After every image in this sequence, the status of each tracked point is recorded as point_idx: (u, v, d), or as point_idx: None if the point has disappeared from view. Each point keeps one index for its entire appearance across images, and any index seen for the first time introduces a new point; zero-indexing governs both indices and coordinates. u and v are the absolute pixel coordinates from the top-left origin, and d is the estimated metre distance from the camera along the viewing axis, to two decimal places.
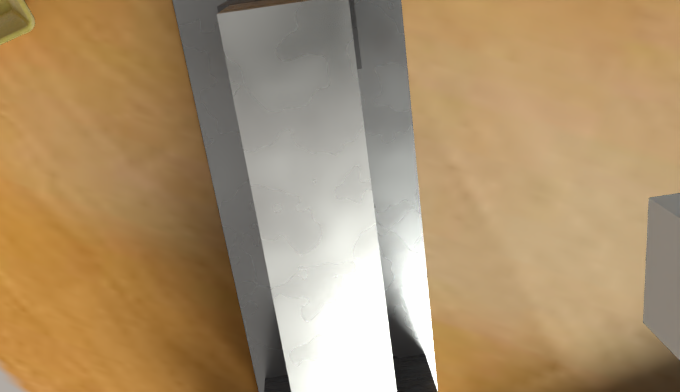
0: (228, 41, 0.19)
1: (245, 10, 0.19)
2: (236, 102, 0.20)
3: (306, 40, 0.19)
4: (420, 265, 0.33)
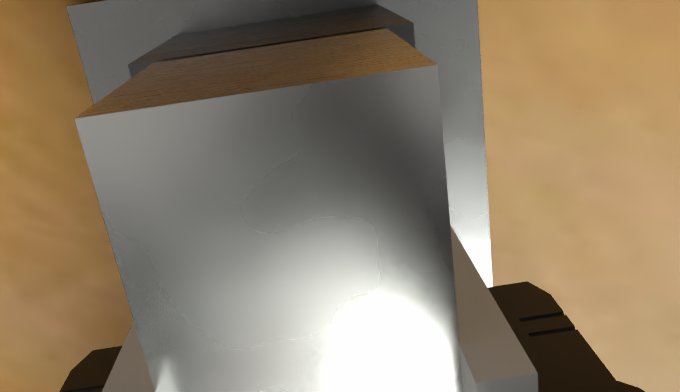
0: (112, 188, 0.07)
1: (155, 108, 0.07)
2: (143, 331, 0.08)
3: (321, 182, 0.07)
4: None
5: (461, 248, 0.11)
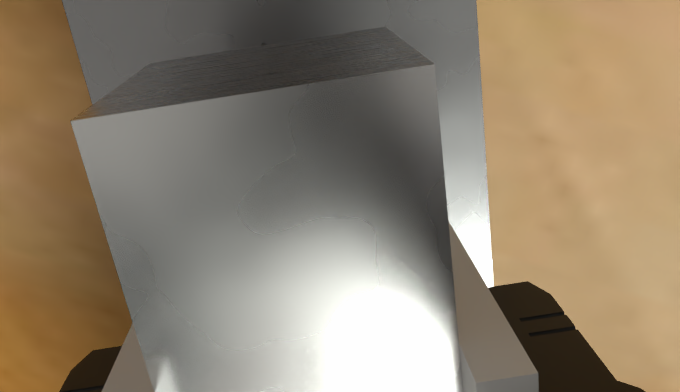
0: (109, 191, 0.07)
1: (151, 109, 0.07)
2: (142, 332, 0.08)
3: (320, 183, 0.07)
4: None
5: (461, 248, 0.11)
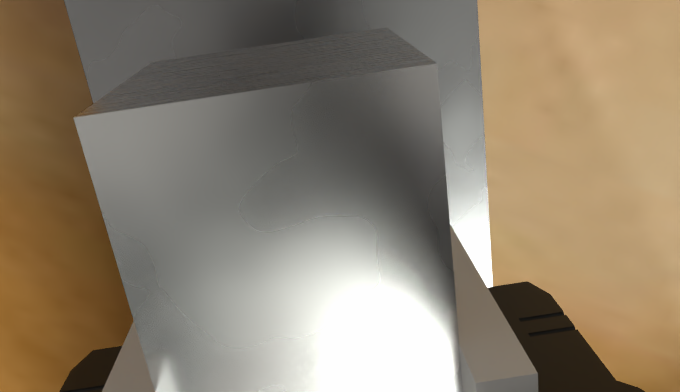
0: (111, 187, 0.07)
1: (154, 106, 0.07)
2: (142, 330, 0.08)
3: (320, 182, 0.07)
4: (477, 196, 0.18)
5: (461, 248, 0.11)
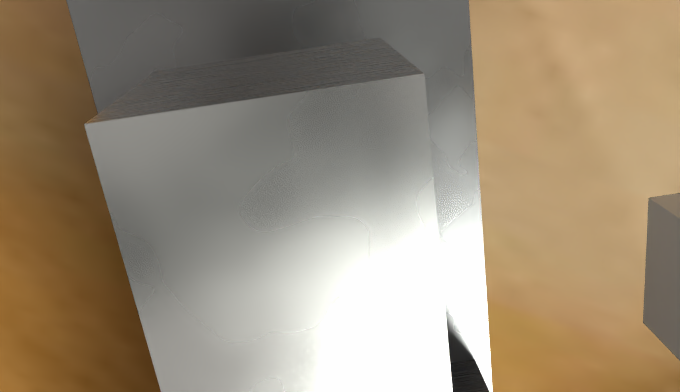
0: (119, 189, 0.08)
1: (159, 114, 0.07)
2: (147, 324, 0.08)
3: (316, 184, 0.08)
4: (470, 198, 0.18)
5: None
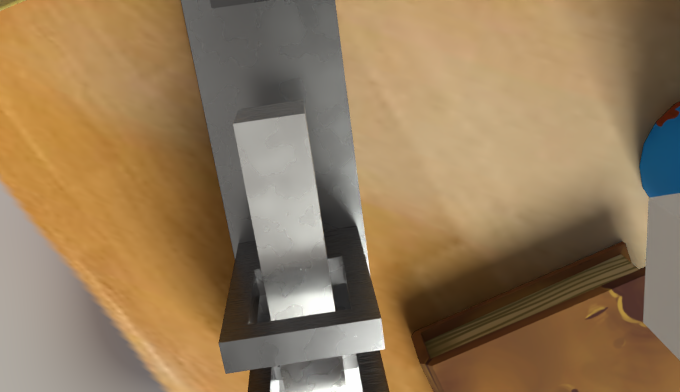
0: (239, 138, 0.35)
1: (248, 121, 0.34)
2: (243, 170, 0.35)
3: (282, 137, 0.35)
4: (350, 155, 0.45)
5: None
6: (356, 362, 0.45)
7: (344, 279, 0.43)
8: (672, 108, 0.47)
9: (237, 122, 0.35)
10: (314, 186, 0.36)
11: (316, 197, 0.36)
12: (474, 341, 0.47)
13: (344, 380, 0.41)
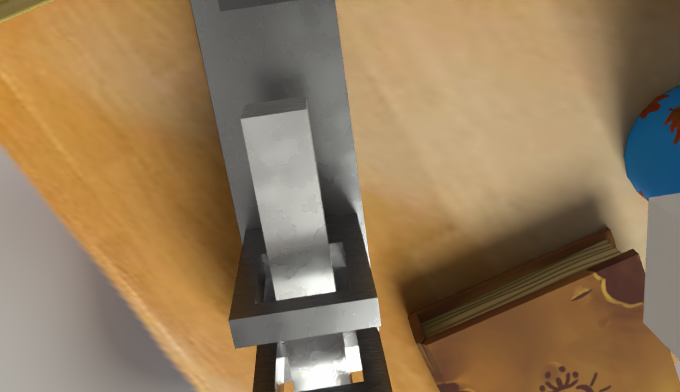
0: (246, 132, 0.38)
1: (255, 117, 0.37)
2: (250, 162, 0.38)
3: (286, 131, 0.38)
4: (350, 147, 0.48)
5: None
6: (356, 340, 0.48)
7: (344, 263, 0.46)
8: (655, 101, 0.49)
9: (244, 117, 0.37)
10: (316, 176, 0.39)
11: (317, 186, 0.39)
12: (466, 321, 0.50)
13: (344, 356, 0.44)
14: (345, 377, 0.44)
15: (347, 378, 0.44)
